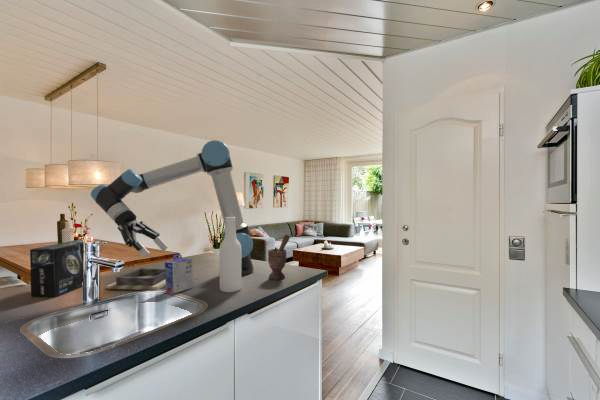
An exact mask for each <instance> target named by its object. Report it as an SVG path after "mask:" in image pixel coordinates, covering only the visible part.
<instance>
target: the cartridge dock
mask: <svg viewBox="0 0 600 400" xmlns="http://www.w3.org/2000/svg"><path fill="white" fill-rule="evenodd" d="M115 278H116V279H115V282H113V283H111V284H109V285H107V286H106V289H108V290H115V289H116V290H139V291H141V290H146V291H150V290H151V291H152V290H153V291H157V290H158V291H159V290H160V289H161V288H163V287H166V277H165V268H151V267H149V268H147V267H146V268H145V267H142V268H138V269H135V270H132V271H129V272H126V273H125V274H122V275H120V276H117V277H115Z"/></svg>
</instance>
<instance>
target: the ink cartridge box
mask: <svg viewBox="0 0 600 400" xmlns="http://www.w3.org/2000/svg"><path fill="white" fill-rule="evenodd" d="M172 257H173V260H170V261H167V262H164V269H165V277H166V285H165V292H166V293H168V294H172V295H174V294H177V293H180V292H183V291H186V290H189V289H193V287H194V281H193V280H194V279H193V278H194V274H193V272H194V271H193V270H194V269H193V258H189V257H188V258H187V257H184V258H183V257H182V255H181V253H177V254H173V255H172Z"/></svg>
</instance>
